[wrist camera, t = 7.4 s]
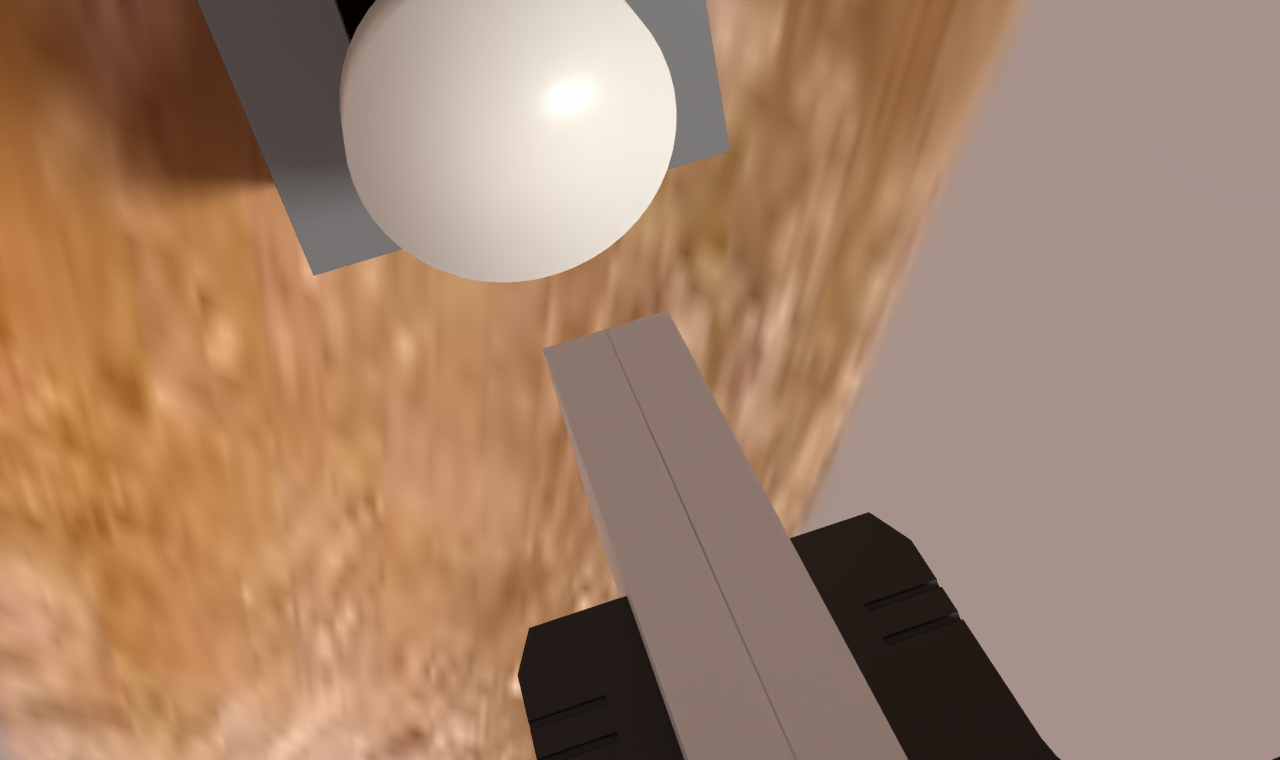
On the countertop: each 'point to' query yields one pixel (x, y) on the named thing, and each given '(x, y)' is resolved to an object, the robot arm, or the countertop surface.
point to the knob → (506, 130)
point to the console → (311, 123)
